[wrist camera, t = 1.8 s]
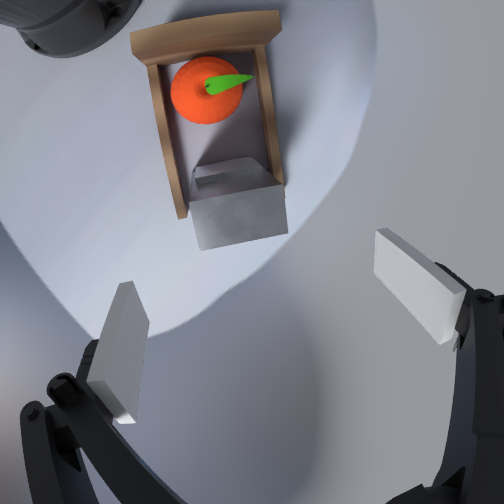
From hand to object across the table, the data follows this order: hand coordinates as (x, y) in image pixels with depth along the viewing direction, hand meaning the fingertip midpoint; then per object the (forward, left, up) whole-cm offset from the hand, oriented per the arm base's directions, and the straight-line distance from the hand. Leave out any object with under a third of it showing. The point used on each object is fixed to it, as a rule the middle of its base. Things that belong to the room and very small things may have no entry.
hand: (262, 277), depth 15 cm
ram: (0, 0, -20) cm, 20 cm away
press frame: (-7, 0, -20) cm, 22 cm away
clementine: (-11, 0, -21) cm, 23 cm away
